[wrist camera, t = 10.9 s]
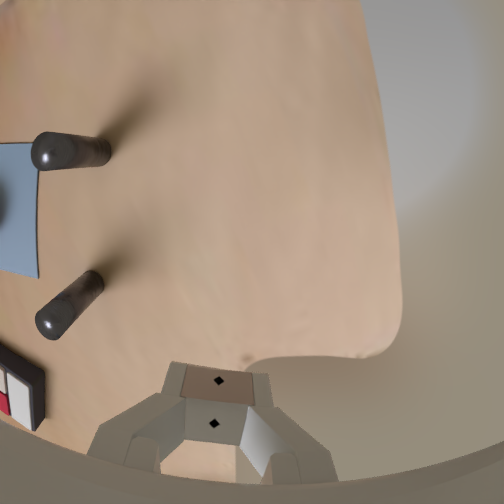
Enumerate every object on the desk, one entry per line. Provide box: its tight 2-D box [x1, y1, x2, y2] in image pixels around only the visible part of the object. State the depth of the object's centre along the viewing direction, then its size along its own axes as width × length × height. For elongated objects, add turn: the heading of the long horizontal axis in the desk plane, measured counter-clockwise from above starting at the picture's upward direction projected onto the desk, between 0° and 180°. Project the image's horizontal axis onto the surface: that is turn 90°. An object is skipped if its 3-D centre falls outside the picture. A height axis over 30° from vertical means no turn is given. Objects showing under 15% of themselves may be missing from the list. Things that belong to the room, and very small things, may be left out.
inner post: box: [31, 132, 112, 171], centre depth 21 cm, size 3×3×9 cm
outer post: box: [35, 271, 104, 340], centre depth 24 cm, size 3×3×9 cm
